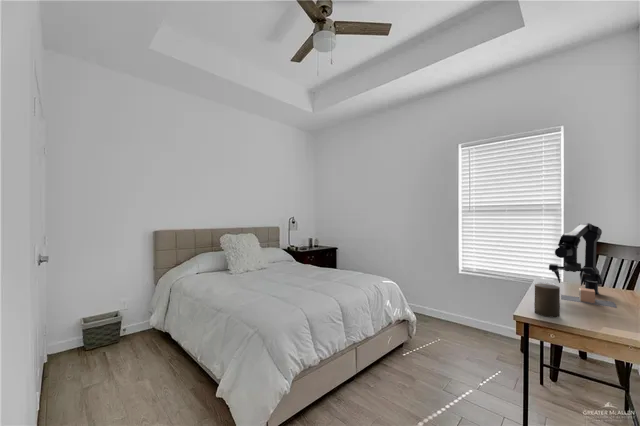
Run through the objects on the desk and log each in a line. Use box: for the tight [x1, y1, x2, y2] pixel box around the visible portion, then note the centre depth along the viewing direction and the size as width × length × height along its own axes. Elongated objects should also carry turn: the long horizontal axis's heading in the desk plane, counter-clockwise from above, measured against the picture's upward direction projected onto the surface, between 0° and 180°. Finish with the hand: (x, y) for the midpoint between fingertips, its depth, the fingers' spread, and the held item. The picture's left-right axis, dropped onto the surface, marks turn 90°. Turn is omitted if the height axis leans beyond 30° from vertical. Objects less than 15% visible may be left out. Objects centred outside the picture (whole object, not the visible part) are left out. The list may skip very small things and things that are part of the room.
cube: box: [578, 287, 596, 303], centre depth 158 cm, size 6×6×6 cm
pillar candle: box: [533, 283, 561, 318], centre depth 140 cm, size 10×10×15 cm
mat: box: [560, 294, 618, 309], centre depth 158 cm, size 12×22×1 cm, turn 50°
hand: (570, 284), depth 163 cm, fingers open, 9 cm apart
